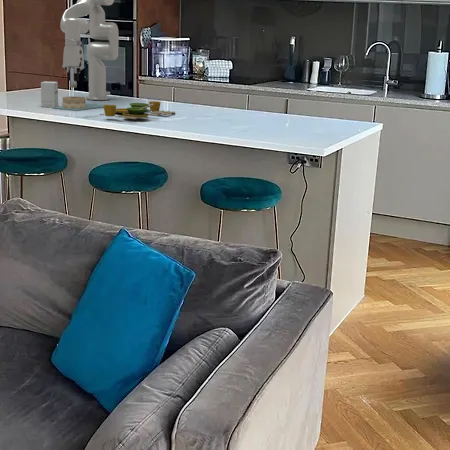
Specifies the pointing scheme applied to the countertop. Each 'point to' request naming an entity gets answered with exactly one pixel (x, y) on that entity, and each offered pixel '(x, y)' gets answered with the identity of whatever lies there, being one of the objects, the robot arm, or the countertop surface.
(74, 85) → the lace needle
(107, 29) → the robot arm
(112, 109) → the tableware set
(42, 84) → the supplement box
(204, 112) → the countertop surface
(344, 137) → the countertop surface
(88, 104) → the mat
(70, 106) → the tan box
